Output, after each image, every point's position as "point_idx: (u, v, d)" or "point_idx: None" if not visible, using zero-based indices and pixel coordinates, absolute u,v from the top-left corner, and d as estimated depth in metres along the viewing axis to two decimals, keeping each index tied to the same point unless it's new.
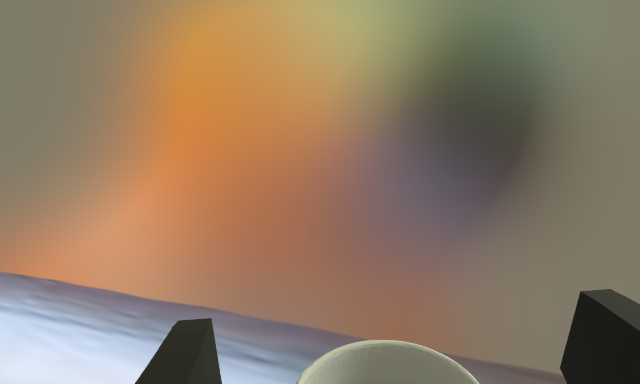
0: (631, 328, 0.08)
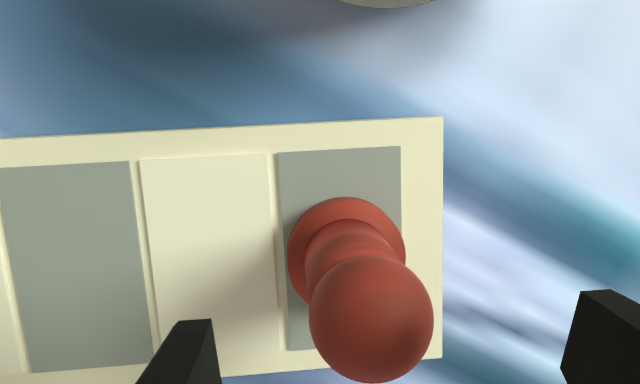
0: (631, 328, 0.08)
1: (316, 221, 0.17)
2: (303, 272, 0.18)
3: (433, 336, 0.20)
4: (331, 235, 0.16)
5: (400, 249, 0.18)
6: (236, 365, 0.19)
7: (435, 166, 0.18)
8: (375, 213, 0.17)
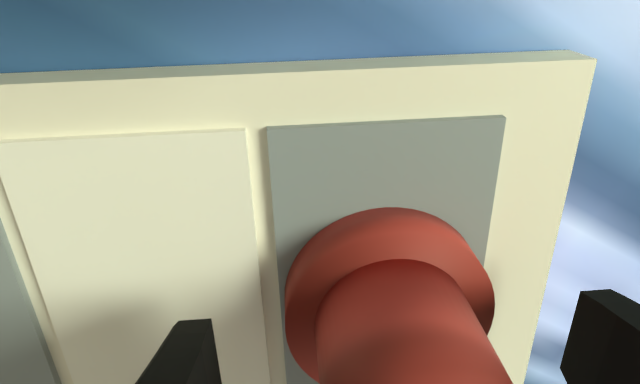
0: (631, 328, 0.08)
1: (339, 264, 0.09)
2: (313, 341, 0.10)
3: None
4: (372, 318, 0.08)
5: (486, 305, 0.10)
6: None
7: (562, 152, 0.10)
8: (450, 249, 0.09)
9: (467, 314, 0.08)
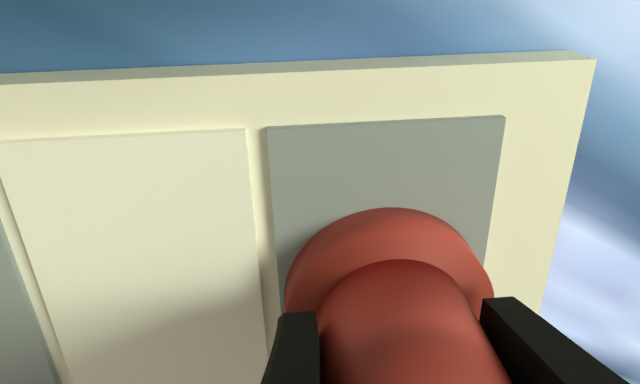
0: (518, 337, 0.08)
1: (339, 264, 0.09)
2: None
3: None
4: (372, 318, 0.08)
5: None
6: None
7: (562, 152, 0.10)
8: (450, 249, 0.09)
9: (467, 314, 0.08)
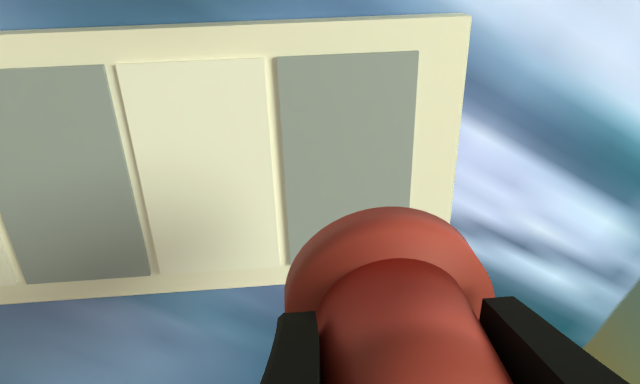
0: (518, 337, 0.08)
1: (339, 263, 0.09)
2: None
3: None
4: (372, 317, 0.08)
5: None
6: (235, 278, 0.19)
7: (457, 75, 0.16)
8: (450, 249, 0.09)
9: (467, 313, 0.08)
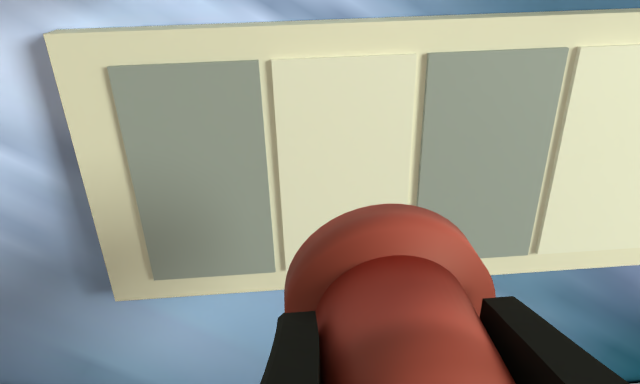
0: (518, 337, 0.08)
1: (339, 260, 0.09)
2: None
3: None
4: (372, 314, 0.08)
5: None
6: (598, 258, 0.20)
7: None
8: (450, 246, 0.09)
9: (468, 310, 0.08)
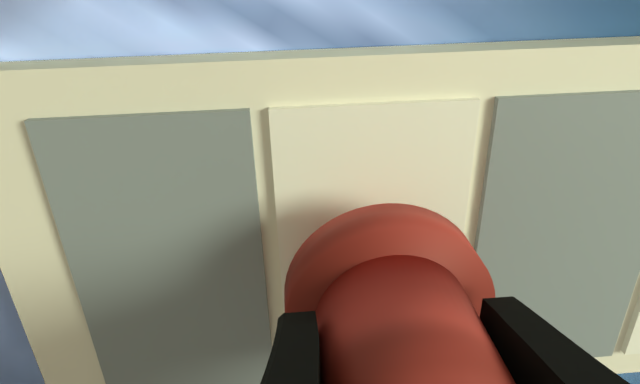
0: (518, 337, 0.08)
1: (339, 259, 0.09)
2: None
3: None
4: (372, 313, 0.08)
5: None
6: None
7: None
8: (450, 245, 0.09)
9: (467, 310, 0.08)
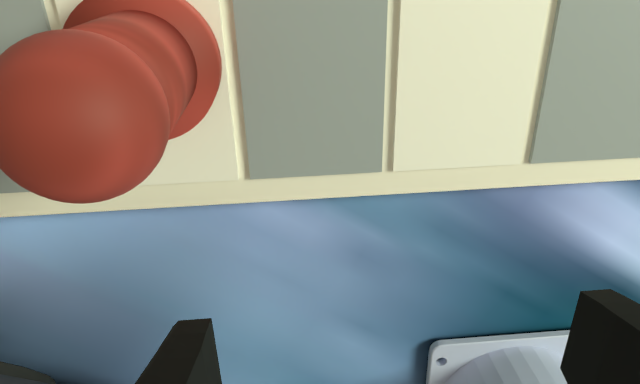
0: (631, 328, 0.08)
1: (88, 12, 0.13)
2: None
3: None
4: None
5: (209, 56, 0.14)
6: (466, 178, 0.17)
7: None
8: (169, 3, 0.13)
9: (159, 30, 0.12)
